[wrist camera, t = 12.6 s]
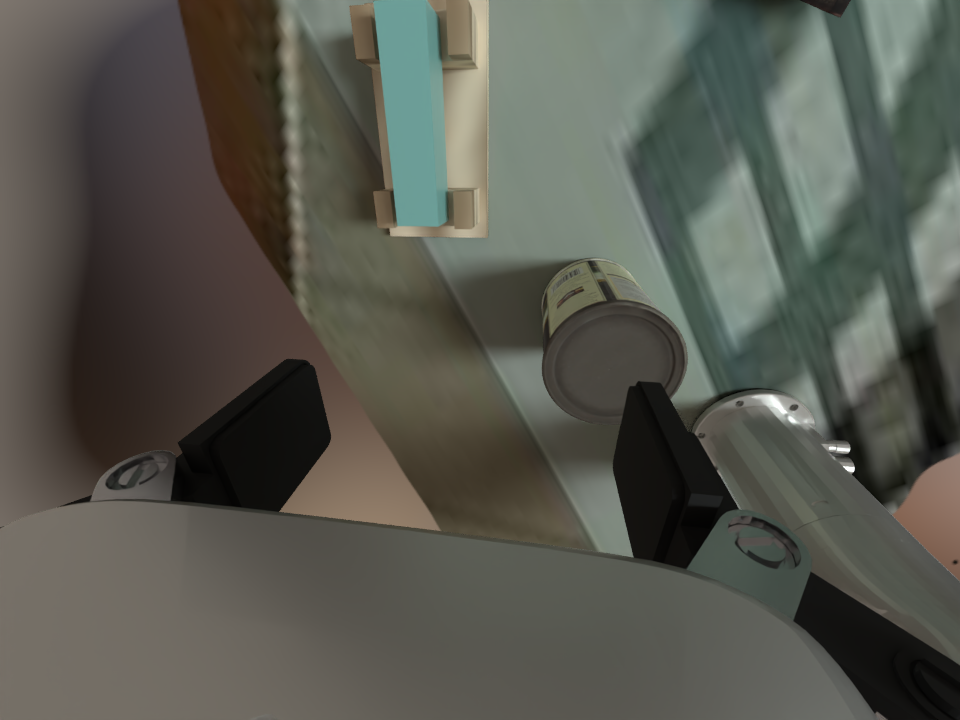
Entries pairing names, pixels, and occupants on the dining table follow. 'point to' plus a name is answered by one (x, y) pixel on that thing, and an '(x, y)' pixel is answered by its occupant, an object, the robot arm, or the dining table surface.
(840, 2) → the diary
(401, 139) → the teal rectangular block
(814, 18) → the dining table surface
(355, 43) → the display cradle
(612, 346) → the coffee can
